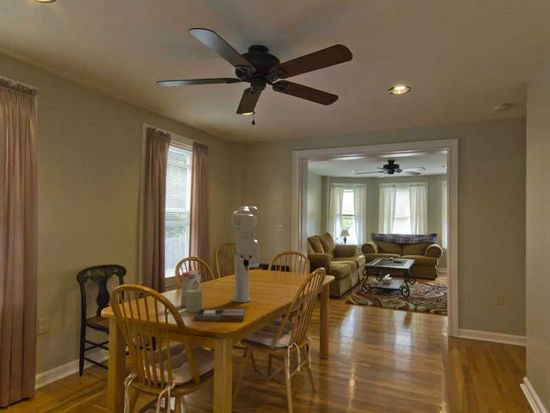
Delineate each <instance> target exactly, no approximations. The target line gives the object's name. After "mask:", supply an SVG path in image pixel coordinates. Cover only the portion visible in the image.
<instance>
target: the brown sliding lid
mask: <svg viewBox="0 0 550 413" xmlns="http://www.w3.org/2000/svg"><path fill="white" fill-rule="evenodd" d="M223 309H224V311H223V312H222V314H221V321H220V322H244V320H245V315H246V308H227V307H226V308H223Z"/></svg>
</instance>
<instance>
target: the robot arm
mask: <svg viewBox="0 0 550 413" xmlns="http://www.w3.org/2000/svg"><path fill="white" fill-rule="evenodd" d="M258 218H259V209H258V208H257V207H256V206H249V205H248V206H247V205H246V206H243V205H242V206H239V207H238V208H237V210H236V211H234V212H232V214H231V225H232V230H233V232H234V235H235V249H236V252H237V253H236V254H235V255H234V257H233V263H234V297H232V298H231V301H232V302H235V303H248V302H251V301H252V298H251V297H250V295H249V292H250V290H249V288H250V272H249V271H248V270H247V269H246V268H258V267H259V266H260V264H261V255H260V244H259V241H258V240H257V239H255V237H256V236H257V235H256V233H254V228H255V227H256V226H257V225H258V224H257V223H258Z"/></svg>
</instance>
